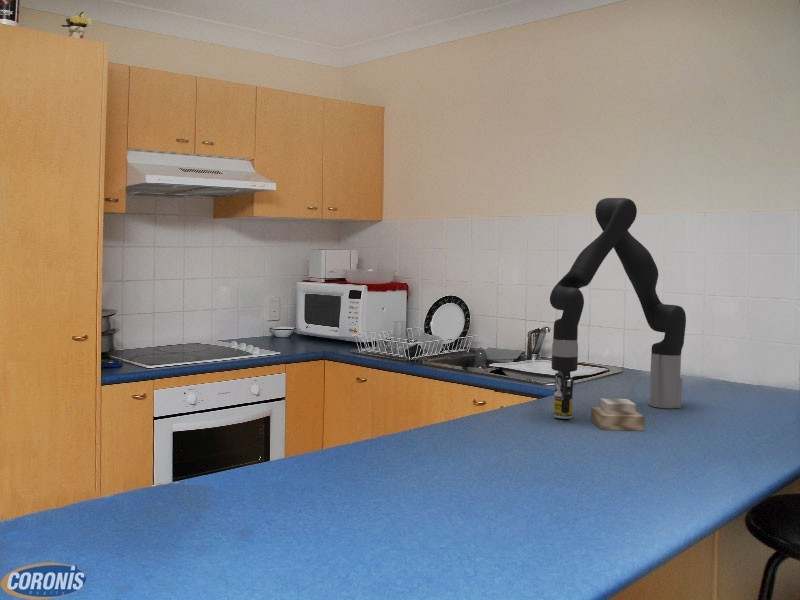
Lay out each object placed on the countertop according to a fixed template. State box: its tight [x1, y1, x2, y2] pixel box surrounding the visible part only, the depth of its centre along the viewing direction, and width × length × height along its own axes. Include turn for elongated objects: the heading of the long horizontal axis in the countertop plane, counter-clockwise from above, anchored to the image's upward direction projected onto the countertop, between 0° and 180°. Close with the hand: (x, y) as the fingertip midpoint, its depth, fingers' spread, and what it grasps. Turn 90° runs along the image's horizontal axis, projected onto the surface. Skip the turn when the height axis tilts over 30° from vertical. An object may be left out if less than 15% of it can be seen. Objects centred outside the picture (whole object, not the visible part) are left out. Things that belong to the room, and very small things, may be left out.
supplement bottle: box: [553, 384, 574, 420], centre depth 232 cm, size 5×5×10 cm
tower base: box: [590, 397, 646, 432], centre depth 224 cm, size 12×12×7 cm
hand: (563, 410), depth 232 cm, fingers closed on supplement bottle, 5 cm apart
